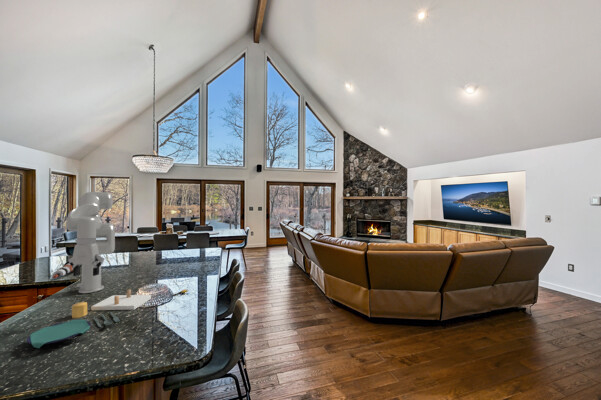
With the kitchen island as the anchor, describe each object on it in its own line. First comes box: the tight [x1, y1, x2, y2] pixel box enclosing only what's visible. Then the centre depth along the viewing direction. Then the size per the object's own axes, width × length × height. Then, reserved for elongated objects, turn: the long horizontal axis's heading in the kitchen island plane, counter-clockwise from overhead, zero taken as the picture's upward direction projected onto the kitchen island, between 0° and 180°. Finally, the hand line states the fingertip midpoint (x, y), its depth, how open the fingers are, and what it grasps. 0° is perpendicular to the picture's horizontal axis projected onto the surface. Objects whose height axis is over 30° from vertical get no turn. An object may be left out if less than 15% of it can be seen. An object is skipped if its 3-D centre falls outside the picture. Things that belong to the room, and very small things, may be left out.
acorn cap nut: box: [71, 301, 88, 319], centre depth 126 cm, size 6×6×6 cm
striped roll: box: [52, 260, 82, 279], centre depth 199 cm, size 10×34×10 cm, turn 19°
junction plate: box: [90, 289, 152, 311], centre depth 141 cm, size 22×16×6 cm
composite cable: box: [171, 288, 189, 298], centre depth 156 cm, size 10×5×2 cm, turn 134°
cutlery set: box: [26, 311, 121, 349], centre depth 112 cm, size 20×30×2 cm, turn 139°
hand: (86, 275), depth 129 cm, fingers open, 9 cm apart
